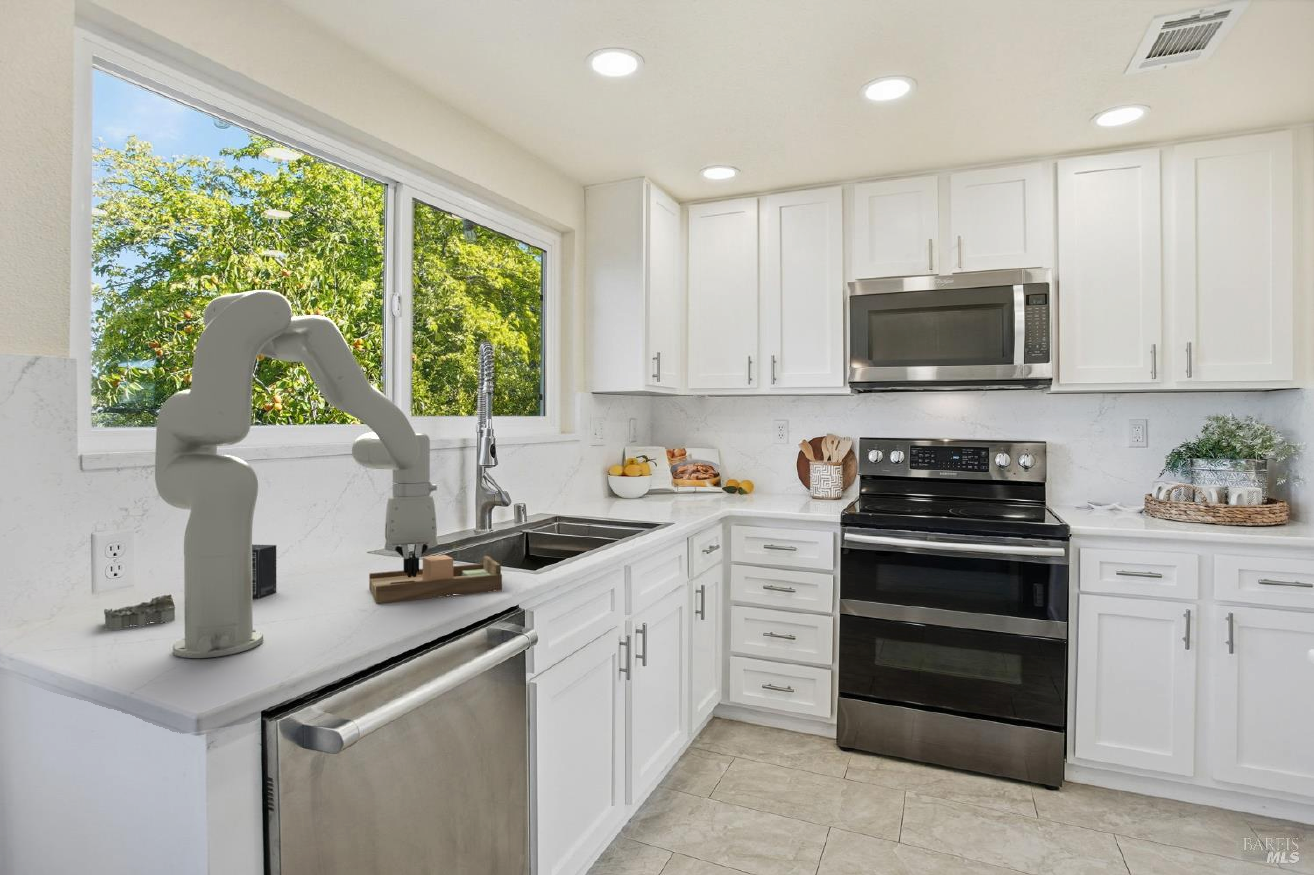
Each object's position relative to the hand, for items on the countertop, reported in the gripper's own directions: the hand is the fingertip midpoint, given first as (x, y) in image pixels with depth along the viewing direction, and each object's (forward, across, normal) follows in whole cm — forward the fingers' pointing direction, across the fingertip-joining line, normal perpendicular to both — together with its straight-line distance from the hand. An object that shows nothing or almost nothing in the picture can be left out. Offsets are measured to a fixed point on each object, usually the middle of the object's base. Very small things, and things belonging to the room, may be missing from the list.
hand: (411, 575), depth 151 cm
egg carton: (+5, +48, -1) cm, 48 cm away
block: (+2, -6, 0) cm, 6 cm away
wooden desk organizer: (+4, -6, -3) cm, 8 cm away
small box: (+4, +31, -16) cm, 36 cm away
